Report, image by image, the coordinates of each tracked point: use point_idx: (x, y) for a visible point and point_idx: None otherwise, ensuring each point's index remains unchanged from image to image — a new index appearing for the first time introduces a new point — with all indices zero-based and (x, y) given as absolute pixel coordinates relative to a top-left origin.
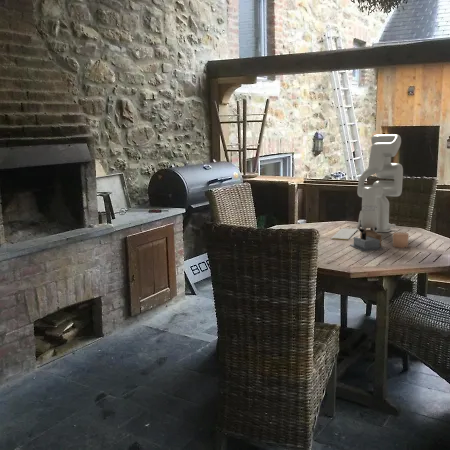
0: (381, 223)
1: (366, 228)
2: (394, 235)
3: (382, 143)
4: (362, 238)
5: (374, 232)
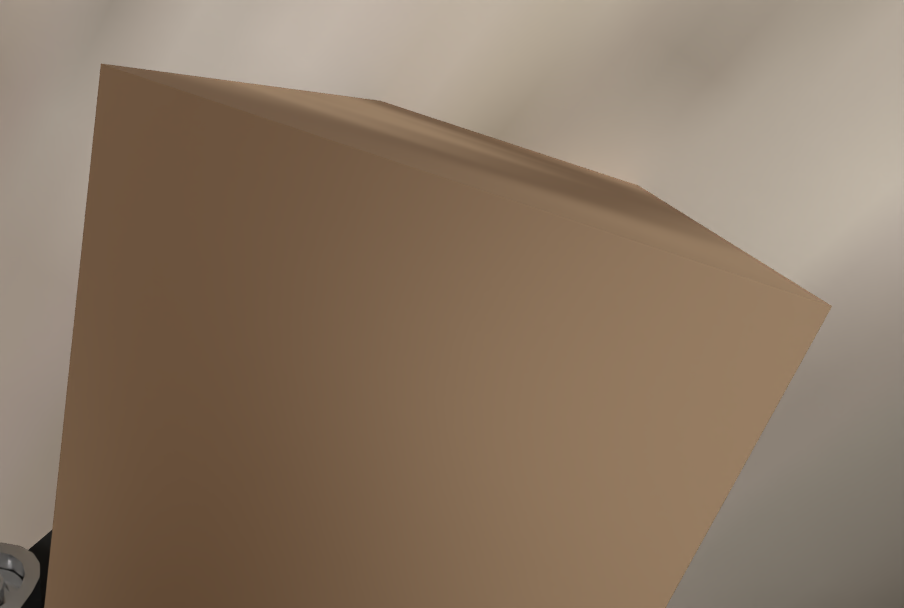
0: None
1: (650, 392)
2: None
3: None
4: None
5: None
